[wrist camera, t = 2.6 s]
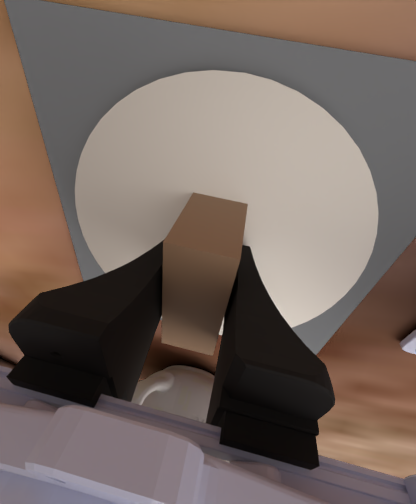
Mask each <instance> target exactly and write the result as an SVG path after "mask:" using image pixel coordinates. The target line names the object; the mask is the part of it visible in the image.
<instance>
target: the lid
mask: <svg viewBox="0 0 416 504" xmlns="http://www.w3.org/2000/svg"><path fill="white" fill-rule="evenodd" d="M75 205H76V210H77V216H78V221H79V224H80V227H81V230H82V234H83V236H84V239H85V241H86V243H87V245H88V247H89V249H90V251H91V253H92V255H93V256H94V258H95V260H96V261H97V263H98V264H99V266H100V267H101V268H102V270H103V271H104V272H105V273H107V272H110V271H112V270H114V269H117V268H119V267H121V266H123V265H125V264H127V263H129V262H131V261H132V260H134V259H136V258H138V257H139V256H141V255H142V254H144V253H146V252H147V251H149V250H150V249H152V248H153V247H154V246H156V245H157V244H159V243H160V242H161V241H163V240H164V239H165V240H164V241H163V281H162V316H161V318H162V343H165V344H169V345H172V346H176V347H180V348H184V349H188V350H192V351H196V352H199V353H203V354H207V355H211V356H213V353H214V349H215V346H216V342H217V339H218V335H222V333H223V324H224V315H225V311H226V308H227V304H228V301H229V297H230V294H231V290H232V287H233V284H234V280H235V277H236V273H237V270H238V266H239V263H240V259H241V252H242V245H245V246H249V247H250V248H251V251H252V255H253V258H254V261H255V264H256V267H257V270H258V272H259V275H260V277H261V279H262V282H263V284H264V286H265V288H266V290H267V292H268V294H269V296H270V297H271V299H272V301H273V302H274V304H275V306H276V307H277V309H278V310H279V312H280V313H281V315H282V316H283V318H284V319H285V320H286V322H287V323H288V324H289V326H290V327H291V328H292V327H295V326H297V325H300V324H302V323H305V322H307V321H309V320H311V319H313V318H315V317H317V316H318V315H320V314H322V313H323V312H325V311H326V310H328V309H329V308H331V307H332V306H333V305H334V304H336V303H337V302H338V301H339V300H340V299H341V298H342V297H344V296H345V295H346V293H347V292H348V291H349V290H350V289H351V288H352V287H353V285H354V284H355V283H356V282H357V280H358V278H359V277H360V275H361V274H362V272H363V271H364V269H365V267H366V265H367V263H368V260H369V258H370V256H371V254H372V251H373V247H374V243H375V239H376V236H377V227H378V215H379V213H378V203H377V193H376V189H375V186H374V182H373V179H372V175H371V172H370V169H369V167H368V165H367V163H366V161H365V159H364V157H363V155H362V153H361V151H360V149H359V147H358V146H357V145H356V143H355V142H354V141H353V139H352V138H351V137H350V135H349V134H348V133H347V131H346V130H345V129H344V127H343V126H342V125H341V124H339V123H338V122H337V121H336V120H335V119H334V118H333V117H332V116H331V115H330V114H329V113H328V112H327V111H326V110H325V109H324V108H322V107H321V106H319V105H318V104H316V103H315V102H313V101H312V100H310V99H309V98H307V97H306V96H304V95H303V94H301V93H300V92H298V91H296V90H294V89H291V88H289V87H287V86H285V85H282V84H280V83H278V82H276V81H273V80H271V79H267V78H263V77H259V76H256V75H252V74H248V73H243V72H231V71H220V70H207V71H195V72H185V73H181V74H177V75H173V76H169V77H165V78H161V79H158V80H156V81H154V82H152V83H149V84H147V85H145V86H143V87H141V88H139V89H136V90H135V91H133V92H132V93H131V94H129V95H128V96H126V97H125V98H123V99H122V100H120V101H119V102H118V103H116V104H115V105H114V106H113V107H112V108H111V109H110V110H109V111H108V112H107V113H106V114H105V115H104V116H103V117H102V118H101V120H100V121H99V122H98V124H97V125H96V127H95V128H94V130H93V131H92V133H91V134H90V135H89V138H88V140H87V142H86V144H85V146H84V148H83V151H82V153H81V156H80V160H79V164H78V167H77V171H76V181H75Z"/></svg>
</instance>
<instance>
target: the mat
mask: <svg viewBox="0 0 416 504" xmlns="http://www.w3.org/2000/svg"><path fill="white" fill-rule="evenodd" d="M4 2H5V5H6V9H7V12H8V16H9V19H10V23H11V26H12V30H13V33H14V37H15V41H16V44H17V48H18V51H19V55H20V58H21V62H22V65H23V69H24V72H25V76H26V80H27V83H28V87H29V90H30V94H31V97H32V101H33V104H34V108H35V111H36V115H37V118H38V122H39V126H40V129H41V133H42V136H43V140H44V143H45V147H46V150H47V154H48V157H49V161H50V164H51V168H52V172H53V175H54V179H55V182H56V186H57V189H58V193H59V196H60V200H61V203H62V207H63V211H64V214H65V218H66V221H67V225H68V228H69V232H70V235H71V239H72V242H73V246H74V249H75V253H76V257H77V260H78V264H79V267H80V271H81V274H82V278H83V281H86V280H89V279H92V278H95V277H97V276H100V275H102V274H105V272H104V271H103V270H102V268H101V267H100V266H99V264H98V263H97V261H96V260H95V258H94V256H93V255H92V253H91V251H90V249H89V247H88V245H87V243H86V241H85V239H84V236H83V234H82V230H81V227H80V224H79V221H78V216H77V210H76V205H75V181H76V171H77V167H78V164H79V160H80V156H81V153H82V151H83V148H84V146H85V144H86V142H87V140H88V138H89V135H90V134H91V133H92V131H93V130H94V128H95V127H96V125H97V124H98V122H99V121H100V120H101V118H102V117H103V116H104V115H105V114H106V113H107V112H108V111H109V110H110V109H111V108H112V107H113V106H114V105H115V104H116V103H118V102H119V101H120V100H122V99H123V98H125V97H126V96H128V95H129V94H131V93H132V92H133V91H135V90H136V89H139V88H141V87H143V86H145V85H147V84H149V83H152V82H154V81H156V80H158V79H161V78H165V77H169V76H173V75H177V74H181V73H185V72H195V71H207V70H220V71H231V72H243V73H248V74H252V75H256V76H259V77H263V78H267V79H271V80H273V81H276V82H278V83H280V84H282V85H285V86H287V87H289V88H291V89H294V90H296V91H298V92H300V93H301V94H303V95H304V96H306V97H307V98H309V99H310V100H312V101H313V102H315V103H316V104H318V105H319V106H321V107H322V108H324V109H325V110H326V111H327V112H328V113H329V114H330V115H331V116H332V117H333V118H334V119H335V120H336V121H337V122H338V123H339V124H341V125H342V126H343V127H344V129H345V130H346V131H347V133H348V134H349V135H350V137H351V138H352V139H353V141H354V142H355V143H356V145H357V146H358V147H359V149H360V151H361V153H362V155H363V157H364V159H365V161H366V163H367V165H368V167H369V169H370V172H371V175H372V179H373V182H374V186H375V189H376V193H377V203H378V213H379V215H378V227H377V236H376V239H375V243H374V247H373V251H372V254H371V256H370V258H369V260H368V263H367V265H366V267H365V269H364V271H363V272H362V274H361V275H360V277H359V278H358V280H357V282H356V283H355V284H354V285H353V287H352V288H351V289H350V290H349V291H348V292H347V293H346V295H345V296H344V297H342V298H341V299H340V300H339V301H338V302H337V303H336V304H334V305H333V306H332V307H331V308H329V309H328V310H326V311H325V312H323V313H322V314H320V315H318V316H317V317H315V318H313V319H311V320H309V321H307V322H305V323H302V324H300V325H297V326H295V327H292V330H293V331H294V332H295V333H296V334H297V336H298V337H299V338H300V339H301V340H302V341H303V343H304V344H305V345H306V346H307V347H308V348H309V349H310V350H311V351H312V352H313V353H314V354H315V355H316V354H317V353H318V352H319V351H320V350H321V348H322V347H323V346H324V345H325V344H326V343H327V341H328V340H329V339H330V338H331V337H332V335H333V334H334V333H335V332H336V331H337V329H338V328H339V327H340V326H341V325H342V324H343V322H344V321H345V320H346V319H347V318H348V316H349V315H350V314H351V313H352V312H353V310H354V309H355V308H356V307H357V306H358V305H359V303H360V302H361V301H362V300H363V299H364V297H365V296H366V295H367V294H368V293H369V291H370V290H371V289H372V288H373V287H374V286H375V284H376V283H377V282H378V281H379V280H380V278H381V277H382V276H383V275H384V274H385V273H386V271H387V270H388V269H389V268H390V267H391V265H392V264H393V263H394V262H395V261H396V259H397V258H398V257H399V256H400V255H401V254H402V252H403V251H404V250H405V249H406V248H407V246H408V245H409V244H410V243H411V242H412V240H413V239H414V238H415V237H416V61H411V60H405V59H399V58H393V57H386V56H380V55H374V54H368V53H362V52H356V51H349V50H343V49H337V48H331V47H325V46H319V45H312V44H306V43H300V42H294V41H288V40H282V39H275V38H269V37H263V36H257V35H251V34H245V33H238V32H232V31H226V30H220V29H214V28H208V27H202V26H195V25H189V24H183V23H177V22H171V21H165V20H158V19H152V18H146V17H140V16H134V15H128V14H121V13H115V12H109V11H103V10H97V9H91V8H84V7H78V6H72V5H66V4H60V3H54V2H47V1H41V0H4ZM160 320H162V318H160Z"/></svg>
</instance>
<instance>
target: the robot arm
mask: <svg viewBox="0 0 416 504" xmlns="http://www.w3.org/2000/svg"><path fill="white" fill-rule="evenodd" d="M164 240H165V239H164ZM164 240H163V241H164ZM163 241H161V242H160V243H159V244H157V245H156V246H154V247H153V248H152V249H150V250H149V251H147V252H146V253H144V254H142V255H141V256H139V257H138V258H136V259H134V260H132V261H131V262H129V263H127V264H125V265H123V266H121V267H119V268H117V269H114V270H112V271H110V272H107V273H105V274H102V275H100V276H97V277H95V278H92V279H89V280H86V281H83V282H80V283H77V284H73V285H70V286H66V287H62V288H59V289H55V290H51V291H47V292H42V293H40V294H39V295H38V296H36V297H35V298H34V299H33V300H32V301H31V302H30V303H29V304H28V305H27V306H26V307H25V308H24V309H23V310H22V311H21V312H20V313H19V314H18V315H17V316H16V317H15V318H14V319H13V320H12V321H11V322H10V323H9V333H10V334H11V336H12V338H13V339H14V341H15V342H16V344H17V345H18V346H19V348H20V349H21V351H22V352H23V354H24V357H23V358H22V359H21V360H20V361H19V362H18V364H17V365H16V366H15V367H14V368H13V369H11V368H8V367H4V366H0V504H416V475H410V476H408V477H405V479H402V478H398V477H395V476H391V475H388V474H384V473H381V472H377V471H374V470H370V469H366V468H363V467H359V466H356V465H352V464H349V463H345V462H342V461H338V460H334V459H331V458H327V457H324V456H320V455H318V450H317V443H316V436H317V435H318V434H319V428H318V422H317V420H318V419H319V418H321V417H322V416H323V415H324V414H326V413H327V412H328V411H329V410H330V409H331V408H332V407H333V406H334V405H335V397H334V392H333V387H332V384H331V380H330V377H329V374H328V371H327V368H326V365H325V364H324V363H323V362H322V361H321V360H320V359H319V358H318V357H317V356H316V355H315V354H314V353H313V352H312V351H311V350H310V349H309V348H308V347H307V346H306V345H305V344H304V343H303V341H302V340H301V339H300V338H299V337H298V336H297V334H296V333H295V332H294V331H293V330H292V328H291V327H290V326H289V324H288V323H287V322H286V320H285V319H284V318H283V316H282V315H281V313H280V312H279V310H278V309H277V307H276V306H275V304H274V302H273V301H272V299H271V297H270V296H269V294H268V292H267V290H266V288H265V286H264V284H263V282H262V279H261V277H260V275H259V272H258V270H257V267H256V264H255V261H254V258H253V255H252V251H251V248H250V247H249V246H245V245H242V252H241V259H240V263H239V266H238V270H237V273H236V277H235V280H234V284H233V287H232V290H231V294H230V297H229V301H228V304H227V308H226V311H225V315H224V324H223V333H222V340H221V345H220V351H219V356H218V361H217V367H216V372H215V377H214V383H213V388H212V393H211V398H210V403H209V408H208V413H207V419H206V423H203V422H199V421H196V420H192V419H189V418H185V417H182V416H178V415H175V414H171V413H167V412H164V411H160V410H157V409H153V408H150V407H146V406H143V405H139V404H135V403H132V402H131V401H132V398H133V395H134V392H135V389H136V386H137V383H138V380H139V377H140V374H141V371H142V368H143V365H144V362H145V359H146V356H147V353H148V351H149V348H150V345H151V342H152V339H153V337H154V334H155V331H156V329H157V326H158V323H159V321H160V318H161V316H162V281H163ZM400 346H401V348H402V349H403V350H404V351H406V352H409V353H413V354H416V329H415V330H414V331H413V332H412V333H411V334H409V335H408V336H407V337H406V338H405V339H403V340H402V341H401V342H400ZM218 458H219V459H218ZM221 459H222V460H221ZM223 460H226V461H229V462H230V463H228V462H226V461H223Z"/></svg>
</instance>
